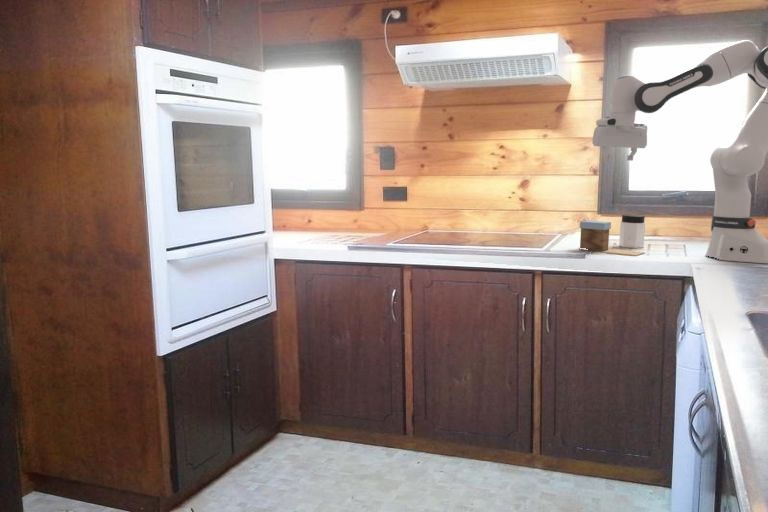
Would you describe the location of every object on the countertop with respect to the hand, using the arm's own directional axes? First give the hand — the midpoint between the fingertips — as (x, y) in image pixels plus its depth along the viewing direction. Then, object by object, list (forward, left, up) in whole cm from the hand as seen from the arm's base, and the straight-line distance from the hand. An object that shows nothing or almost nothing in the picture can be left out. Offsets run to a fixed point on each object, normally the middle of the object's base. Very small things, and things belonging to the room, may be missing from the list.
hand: (618, 160), depth 259 cm
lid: (+4, +9, -26) cm, 28 cm away
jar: (-3, -10, -33) cm, 35 cm away
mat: (-7, +9, -33) cm, 35 cm away
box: (+4, +9, -33) cm, 34 cm away
